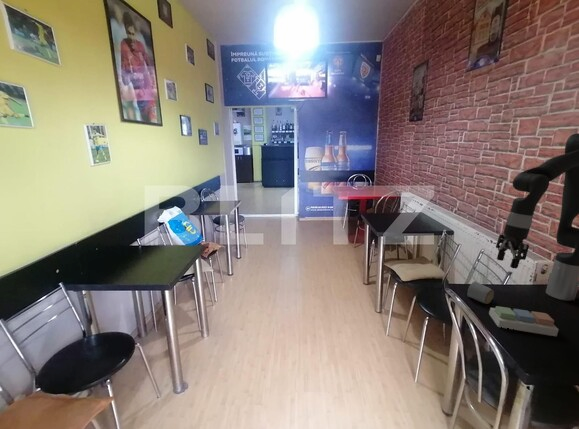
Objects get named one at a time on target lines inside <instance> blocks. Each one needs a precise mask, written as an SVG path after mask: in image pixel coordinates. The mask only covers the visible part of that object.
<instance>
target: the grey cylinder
mask: <svg viewBox="0 0 579 429" xmlns="http://www.w3.org/2000/svg"><path fill="white" fill-rule="evenodd" d="M494 295H495V291H494V290H493V289H492V288H490V287H488V286H486V285H484V284H482V283H480V282H477V281H473V282H471V283H470V285H469V287H468V289H467V297H469V298H471V299H473V300H475V301H478V302H480V303H482V304H485V305H488V304H490V303H491V302H492V300H493V299H494V297H495V296H494Z"/></svg>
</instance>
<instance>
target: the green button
mask: <svg viewBox="0 0 579 429" xmlns="http://www.w3.org/2000/svg"><path fill="white" fill-rule="evenodd" d="M494 308H495V313H496V314H497V315H498V317H499V318H503V319H509V320H515V317H516V315H515V313H514V312H513V309H511V307H505V306H498V305H496V306H495V307H494Z"/></svg>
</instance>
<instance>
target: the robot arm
mask: <svg viewBox="0 0 579 429" xmlns="http://www.w3.org/2000/svg"><path fill="white" fill-rule="evenodd" d="M562 174H564V179H563V180H564V182H563V188H562V198H561V211H560V218H559V222H558V227H557V232H556V242H557V244H558V245H560V246H563V247H567V248H571V249H574V250H573V252H559V253H556V255H555V258H554V261H553V262H554V263H553V266H552V269H551V272H550V276H549V278H548V279H549V280H548V282H547V286H546V289H545V293H546V294H547V295H548V296H550V297H552V298H555V299H558V300H561V301H565V302H566V301H575V300H576V295H577V293H578V290H579V228H578V227H574V226H573V222H574V220H575V218H576V217H578V216H579V133H573V134H570V135H569V136H568V138H567V140H566V143H565V146H564V154H559V155H556V156H554V157H551V158H549V159H548V160H545V161H544V162H542V164H540V165H538V166H536V167H532V168H529V169H526V170H524V171H521V172H520V173H517V175H516V176H515V177H514V178H513V180H512V187H513V188H514V189H515V190H516V191H518V192H524V193H525V192H526V193H528V194H527V195H526V196H525V197H516V198H514V199H513V201H512V204H511V208H510V212H509V214H508V216H507V218H506V223H505V224H504V225H505V226H504V229H503V234H499V236H498V239H497V242H496V244H495V248H496V249H497V251H498V253H497V256H496V260H497V261H504V259H505V256H506V251H510V254H512V259H511V262H510V264H509V267H510V268H512V269H515V270H516V269H518V267H519V264H520V261H521V260H523V261H524V260H526V258H527V256H528V251H529V248H530V245H529V244H528V243H527V244H526V243H524V240H527V239H528V236H529V232H530V230H531V226H532V223H533V217H534V214H535V210H536V206H537V205H538V203H539V202H540V200H541V199H542V197H543V196H544V195H545V193H546V192H547V190H548V188H549V186H550V182H552V181H553V180H555V179H557V178H559V177H560V176H562Z"/></svg>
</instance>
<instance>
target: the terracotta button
mask: <svg viewBox="0 0 579 429" xmlns="http://www.w3.org/2000/svg"><path fill="white" fill-rule="evenodd" d="M530 313H531V314H532V315H533V316H534V318H535V320H534V321H535V322H536V323H537V324H542V325H548V326H553V324H554V323H555V319H553V318H552V317H551V316H550V315H549V314H548V313H546V312H539V311H530ZM554 325H555V324H554Z"/></svg>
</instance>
